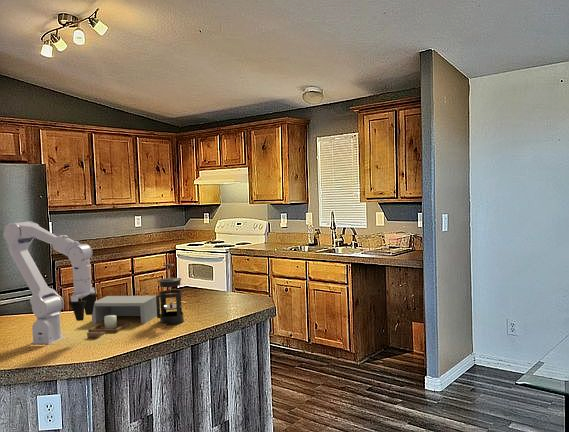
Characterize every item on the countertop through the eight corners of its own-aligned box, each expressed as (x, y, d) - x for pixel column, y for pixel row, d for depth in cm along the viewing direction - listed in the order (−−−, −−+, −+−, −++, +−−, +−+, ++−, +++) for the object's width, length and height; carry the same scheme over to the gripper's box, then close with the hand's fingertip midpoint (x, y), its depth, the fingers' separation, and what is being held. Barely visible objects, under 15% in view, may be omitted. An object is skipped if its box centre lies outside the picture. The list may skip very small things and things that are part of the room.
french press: (175, 317, 212) (172, 261, 210) (190, 320, 206) (187, 263, 204) (151, 324, 202) (148, 265, 201) (166, 327, 197) (163, 267, 195)
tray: (107, 340, 183) (106, 333, 183) (78, 339, 185) (77, 333, 185) (128, 327, 200) (128, 321, 200) (102, 327, 201) (101, 321, 201)
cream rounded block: (113, 329, 195) (113, 317, 194) (102, 329, 195) (102, 317, 195) (119, 326, 199) (118, 314, 199) (108, 326, 200) (107, 314, 199)
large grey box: (145, 325, 201) (143, 303, 201) (92, 325, 205) (90, 303, 204) (158, 316, 214) (157, 295, 214) (108, 316, 218) (107, 296, 217)
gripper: (84, 282, 173) (87, 322, 174) (101, 275, 188) (104, 312, 189) (63, 283, 174) (66, 323, 175) (82, 275, 188) (85, 312, 189)
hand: (84, 317), depth 182 cm, fingers open, 7 cm apart
